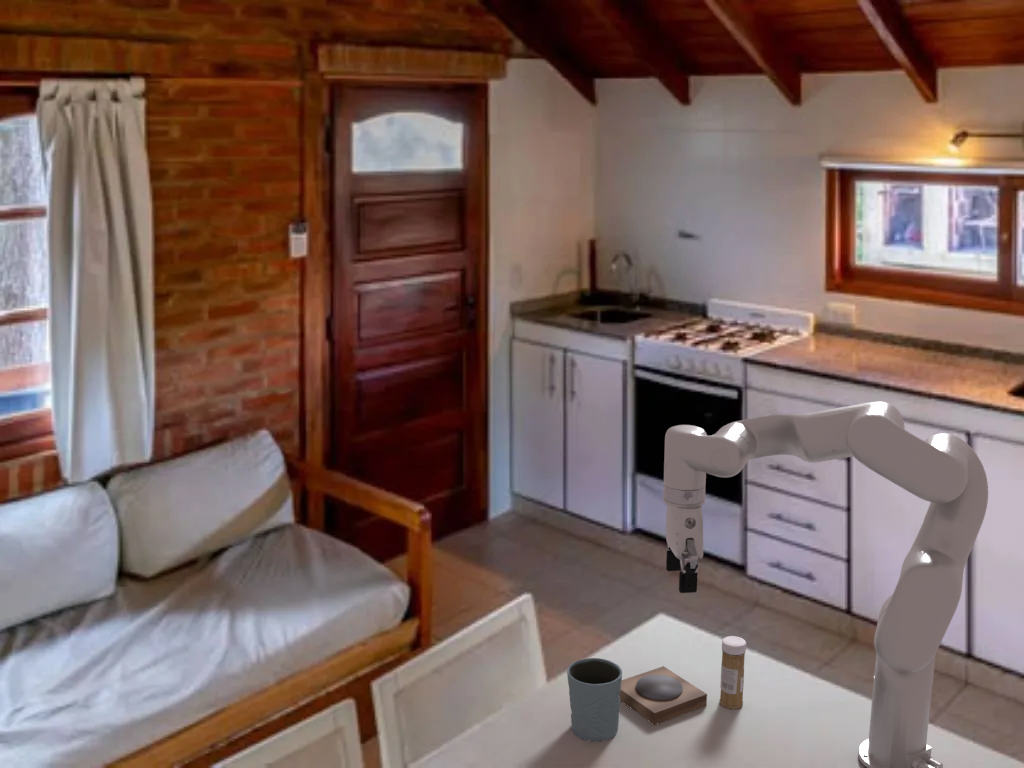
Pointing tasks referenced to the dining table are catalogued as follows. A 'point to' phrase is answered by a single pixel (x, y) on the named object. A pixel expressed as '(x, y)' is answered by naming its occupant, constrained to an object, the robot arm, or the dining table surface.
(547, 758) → the dining table surface
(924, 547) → the robot arm
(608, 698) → the blue-grey cup
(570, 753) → the dining table surface
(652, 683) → the walnut base
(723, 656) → the sprinkles bottle
